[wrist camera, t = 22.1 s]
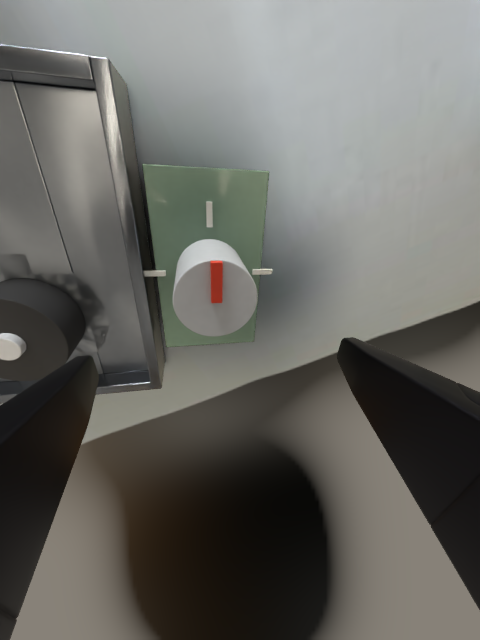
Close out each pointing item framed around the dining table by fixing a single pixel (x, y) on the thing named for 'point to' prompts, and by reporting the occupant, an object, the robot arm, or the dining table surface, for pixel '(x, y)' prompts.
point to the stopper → (36, 329)
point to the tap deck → (203, 231)
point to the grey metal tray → (127, 187)
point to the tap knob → (213, 289)
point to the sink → (67, 215)
